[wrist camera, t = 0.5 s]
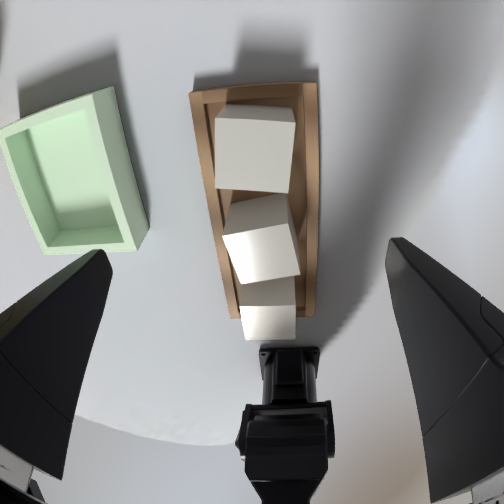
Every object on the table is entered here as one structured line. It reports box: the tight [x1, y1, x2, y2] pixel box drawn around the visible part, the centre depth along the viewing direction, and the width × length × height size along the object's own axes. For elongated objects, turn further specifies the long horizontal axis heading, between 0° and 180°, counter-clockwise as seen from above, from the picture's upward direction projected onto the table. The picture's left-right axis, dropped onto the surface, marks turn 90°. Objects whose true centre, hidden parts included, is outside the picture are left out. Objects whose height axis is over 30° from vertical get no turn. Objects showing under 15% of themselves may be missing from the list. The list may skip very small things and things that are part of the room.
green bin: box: [0, 86, 150, 255], centre depth 21 cm, size 12×10×3 cm
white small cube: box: [222, 193, 300, 284], centre depth 22 cm, size 4×4×4 cm
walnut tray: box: [189, 81, 319, 318], centre depth 23 cm, size 20×8×1 cm, turn 5°
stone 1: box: [240, 276, 296, 340], centre depth 25 cm, size 4×4×4 cm
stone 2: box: [215, 104, 295, 193], centre depth 18 cm, size 4×4×4 cm
